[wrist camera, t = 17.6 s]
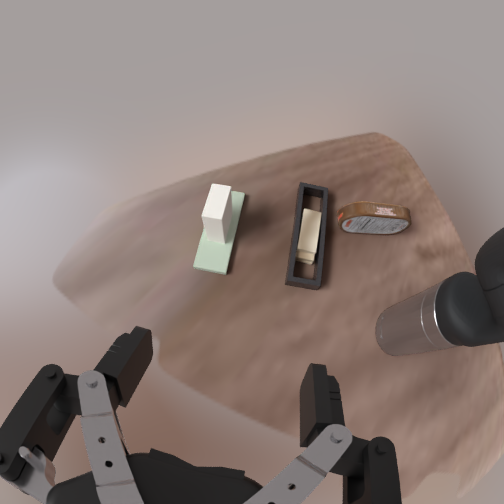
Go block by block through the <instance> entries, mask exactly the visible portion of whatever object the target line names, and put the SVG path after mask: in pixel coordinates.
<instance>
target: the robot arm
mask: <svg viewBox="0 0 504 504" xmlns="http://www.w3.org/2000/svg"><path fill="white" fill-rule="evenodd" d="M475 270H476V274H477V276H476V275H474V274H472V273H469V272H460V273H457V274H455V275H453V276H451V277H449V278H447V279H445V280H444V281H442V282H440V283H438V284H436V285H434V286H432V287H431V288H429V289H427V290H425V291H423V292H421V293H419V294H417V295H415V296H413V297H411V298H409V299H406V300H404V301H402V302H400V303H398V304H396V305H394V306H391V307H389V308H387V309H386V310H384V312H383V313H382V314H381V315H380V317H379V318H378V321H377V324H376V338H377V341H378V344H379V346H380V347H381V349H382V350H383V351H384V352H386V353H387V354H389V355H392V356H401V355H409V354H417V353H423V352H430V351H436V350H442V349H447V348H452V347H457V346H462V345H464V346H468V347H474V346H480V345H486V344H493V343H499V342H504V228H502V229H501V230H500V231H498V232H497V233H495V234H494V235H493V236H492V237H490V238H489V239H488V241H486V242H485V243H484V245H483V246H482V247H481V248H480V250H479V252H478V254H477V256H476V259H475ZM152 356H153V347H152V335H151V330H149V329H145V328H142V327H139V326H136V327H135V328H134V329H133V331H132V332H131V333H130V334H128V333H124V334H123V335H121V336H119V337H118V338H117V339H116V340H115V342H114V343H113V345H112V346H111V347H110V348H109V351H107V353H106V354H105V355H104V356H103V358H102V359H101V360H100V362H99V363H98V365H97V366H96V367H95V369H94V370H90V371H86V372H84V373H82V374H81V375H80V376H77V375H70V374H64V372H63V370H62V368H61V367H60V366H58V365H55V364H49V365H46V366H44V367H43V368H42V369H41V370H40V371H39V373H38V374H37V375H36V376H35V378H34V379H33V381H32V382H31V383H30V385H29V386H28V387H27V389H26V390H25V392H24V393H23V395H22V396H21V398H20V399H19V400H18V402H17V403H16V405H15V406H14V408H13V409H12V411H11V412H10V414H9V415H8V417H7V418H6V420H5V422H4V423H3V425H2V426H1V428H0V476H1V477H2V478H3V479H4V480H5V481H7V482H8V483H9V484H11V485H12V486H14V487H15V488H17V489H19V490H21V491H22V492H23V493H25V494H27V495H31V496H32V497H34V498H35V499H37V500H38V501H40V502H41V503H43V504H301V503H302V502H303V501H304V500H305V499H306V498H307V497H308V496H309V495H310V493H311V492H312V491H313V490H314V489H315V488H316V487H317V486H318V485H319V484H320V482H321V481H322V480H323V479H324V478H325V477H326V474H327V473H328V472H332V473H336V474H339V475H343V504H402V501H401V491H400V481H399V473H398V466H397V459H396V452H395V447H394V444H393V443H392V442H391V441H390V440H389V439H388V438H385V437H376V438H373V439H372V440H371V441H368V440H364V439H361V438H357V437H355V436H353V435H352V434H351V432H350V430H349V429H348V428H346V427H345V422H344V415H343V408H342V401H341V395H340V388H339V383H338V382H337V380H336V379H335V377H334V376H328V375H327V369H326V365H321V364H313V363H311V364H310V365H309V367H308V369H307V372H306V374H305V377H304V379H303V381H302V384H301V388H300V447H307V449H306V450H305V451H304V452H303V453H302V454H301V455H300V456H298V457H296V458H295V459H294V460H293V461H292V462H291V463H290V464H289V465H288V466H287V467H286V468H285V469H284V470H283V471H281V472H280V473H279V474H278V475H277V476H276V477H275V478H274V479H273V480H272V481H270V482H269V483H268V484H267V485H266V486H264V487H262V486H261V485H260V484H259V483H257V482H256V481H254V480H252V479H250V478H248V477H245V476H244V473H245V471H242V470H236V469H230V468H225V467H196V466H193V465H191V464H189V463H187V462H185V461H183V460H181V459H179V458H178V457H176V456H173V455H171V454H168V453H164V452H161V451H158V450H155V449H151V450H150V453H134V454H130V452H129V449H128V447H127V444H126V442H125V439H124V436H123V433H122V430H121V426H120V423H119V420H118V416H117V413H116V409H117V407H118V405H120V406H123V407H126V406H127V404H128V402H129V401H130V398H131V397H132V395H133V393H134V391H135V389H136V388H137V385H138V384H139V382H140V380H141V378H142V377H143V375H144V373H145V371H146V369H147V367H148V366H149V364H150V362H151V360H152ZM76 415H82V417H80V420H81V426H82V431H83V436H84V441H85V445H86V449H87V453H88V457H89V461H90V465H91V468H92V471H90V472H88V473H85V474H83V475H80V476H77V477H75V478H72V479H69V480H67V481H64V482H61V483H58V484H56V485H55V481H54V479H55V474H56V470H55V467H54V465H53V463H52V461H53V459H54V457H55V455H56V453H57V451H58V449H59V447H60V445H61V443H62V441H63V439H64V437H65V435H66V433H67V431H68V430H69V428H70V426H71V424H72V422H73V420H74V418H75V416H76Z"/></svg>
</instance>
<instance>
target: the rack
mask: <svg viewBox="0 0 504 504" xmlns="http://www.w3.org/2000/svg"><path fill="white" fill-rule="evenodd" d="M303 194H306V195H311V196H315V197H320V198H321V201H320V212H321V220H320V228H319V235H318V242H317V249H316V259H315V268H314V277H313V280H309V279H304V278H298V277H293V271H294V264H295V257H296V249H297V242H298V234H299V226H300V217H301V209H302V200H303ZM327 198H328V188H325V187H321V186H316V185H311V184H307V183H302V182H300V185H299V188H298V194H297V202H296V210H295V218H294V225H293V233H292V240H291V247H290V254H289V261H288V267H287V274H286V281H285V285H290V286H295V287H301V288H307V289H312V290H317V289H318V288H319V287H320V285H321V275H322V265H323V255H324V243H325V230H326V215H327Z"/></svg>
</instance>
